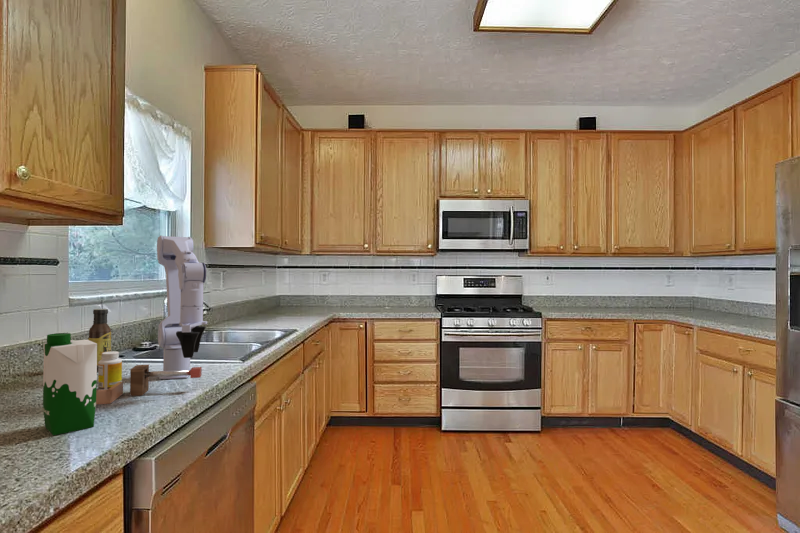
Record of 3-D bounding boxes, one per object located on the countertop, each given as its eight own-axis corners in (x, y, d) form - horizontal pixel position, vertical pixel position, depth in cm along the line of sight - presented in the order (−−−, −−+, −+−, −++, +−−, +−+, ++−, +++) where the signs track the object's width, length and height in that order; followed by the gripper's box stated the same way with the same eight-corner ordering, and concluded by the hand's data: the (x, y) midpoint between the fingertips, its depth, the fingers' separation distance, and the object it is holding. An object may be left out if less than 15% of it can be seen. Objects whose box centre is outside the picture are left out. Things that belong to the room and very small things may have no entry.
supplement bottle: (125, 386, 130) (126, 350, 130) (115, 392, 124) (115, 354, 124) (104, 386, 129) (105, 350, 129) (93, 392, 124) (94, 354, 124)
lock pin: (136, 378, 125) (136, 369, 125) (201, 375, 128) (201, 367, 128) (133, 380, 122) (134, 371, 122) (199, 377, 126) (199, 368, 126)
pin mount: (136, 390, 126) (136, 364, 126) (148, 390, 127) (148, 364, 127) (130, 396, 121) (130, 369, 121) (142, 395, 122) (142, 368, 122)
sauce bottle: (106, 371, 147) (107, 309, 147) (84, 372, 146) (85, 310, 146) (113, 367, 153) (114, 308, 153) (92, 368, 152) (93, 308, 152)
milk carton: (38, 427, 97) (40, 333, 97) (88, 417, 104) (90, 329, 104) (48, 438, 91) (49, 338, 91) (100, 426, 98) (102, 333, 98)
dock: (80, 395, 120) (80, 383, 120) (122, 393, 123) (123, 381, 123) (64, 406, 112) (64, 392, 112) (110, 403, 114) (110, 390, 114)
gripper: (202, 308, 121) (201, 359, 121) (211, 303, 135) (210, 349, 135) (173, 308, 119) (172, 360, 119) (185, 303, 133) (184, 350, 134)
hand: (191, 354), depth 127 cm, fingers open, 7 cm apart
